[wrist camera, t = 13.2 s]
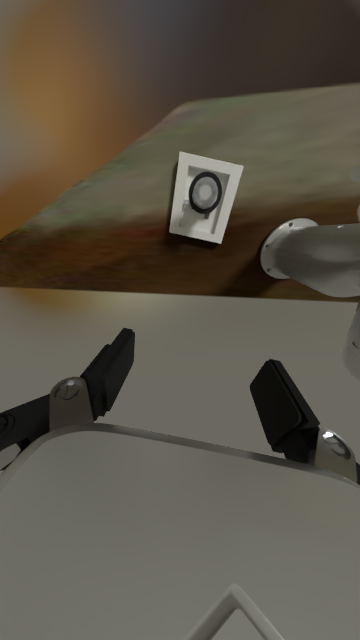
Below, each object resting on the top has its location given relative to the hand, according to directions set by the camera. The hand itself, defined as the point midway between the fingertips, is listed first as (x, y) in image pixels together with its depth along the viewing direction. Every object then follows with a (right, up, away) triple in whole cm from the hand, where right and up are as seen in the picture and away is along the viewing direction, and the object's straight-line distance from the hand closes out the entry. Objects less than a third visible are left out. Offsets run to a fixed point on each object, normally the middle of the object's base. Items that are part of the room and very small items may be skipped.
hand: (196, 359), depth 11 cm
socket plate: (+4, +28, +22) cm, 36 cm away
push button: (+3, +28, +22) cm, 35 cm away
